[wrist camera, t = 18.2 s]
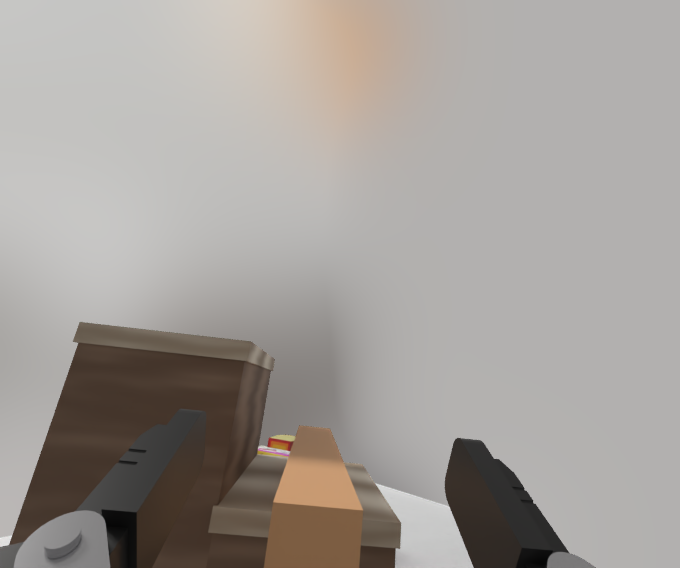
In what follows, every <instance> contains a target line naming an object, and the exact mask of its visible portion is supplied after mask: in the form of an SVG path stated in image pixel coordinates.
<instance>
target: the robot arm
mask: <svg viewBox="0 0 680 568" xmlns="http://www.w3.org/2000/svg"><path fill="white" fill-rule="evenodd" d="M205 435H206V412H205V411H199V410H189V409H179V410H178V411H177V412H176V414H175V415H174V416H173V417H172V419H171V420H170V421H169V423H168V424H167V425H161V424H157V425H155V426H154V427H152V428H151V429H149V430H148V431H146V432H144V433H143V434H141V435H140V436H139V437H138V439H137V440H136V441H135V442H134V443H133V444H132V446H131V447H130V448H129V450H128V451H126V453H125V454H124V455H123V456H122V457H121V458H120V460H119V462H118V463H116V464H115V465H114V467H113V468H112V469H111V470H110V471H109V472H108V474H107V475H106V476H105V477H104V478H103V479H102V481H101V482H100V483H99V484H98V485H97V486H96V488H95V489H94V490H93V491H92V492H91V493H90V495H89V496H88V497H87V498H86V499H85V500H84V502H83V503H82V504H81V505H80V506H79V507H78V509H77V510H76V511H75V512H70V513H67V514H64V515H62V516H59V517H57V518H55V519H53V520H51V521H49V522H47V523H46V524H44V525H43V526H41V527H40V528H39V529H37V530H36V531H35V532H34V533H32V534H31V535H30V536H29V537H28V538H27V539H26V541H25V542H21V543H17V544H13V545H8V546H3V547H0V568H152V567H153V565H154V563H155V561H156V559H157V557H158V555H159V553H160V551H161V549H162V547H163V545H164V543H165V541H166V539H167V537H168V535H169V533H170V531H171V529H172V527H173V525H174V523H175V521H176V519H177V517H178V515H179V514H180V512H181V510H182V508H183V506H184V504H185V502H186V500H187V498H188V496H189V494H190V492H191V490H192V488H193V486H194V484H195V482H196V480H197V478H198V476H199V474H200V471H201V468H202V464H203V460H204V454H205ZM445 493H446V498H447V501H448V504H449V506H450V509H451V511H452V514H453V516H454V519H455V521H456V524H457V526H458V529H459V531H460V534H461V536H462V539H463V542H464V544H465V547H466V549H467V552H468V554H469V557H470V559H471V562H472V564H473V567H474V568H596V567H594V566H592V565H591V564H590V563H588V562H587V561H585V560H584V559H582V558H580V557H578V556H575V555H573V554H570V553H569V552H568V550H567V549H566V547H565V546H564V545H563V543H562V542H561V540H560V539H559V538H558V536H557V535H556V533H555V532H554V530H553V529H552V527H551V526H550V524H549V523H548V522H547V520H546V519H545V517H544V516H543V515H542V513H541V511H540V510H539V509H538V507H537V506H536V504H534V503H533V500H532V498H531V497H530V495H529V494H528V492H527V491H525V490H524V487H523V485H522V484H521V482H520V481H519V479H518V478H517V477H516V475H515V474H514V472H512V471H511V470H510V469H509V468H508V467H507V466H506V465H505V464H503V463H502V462H501V461H500V460H499V459H494V458H493V457H492V455H491V454H490V452H489V451H488V449H487V448H486V446H485V445H484V443H483V442H482V441H480V440H471V439H461V438H457V439H456V440H455V441H454V444H453V448H452V452H451V456H450V460H449V465H448V469H447V473H446V477H445Z"/></svg>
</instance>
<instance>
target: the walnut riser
mask: <svg viewBox="0 0 680 568" xmlns="http://www.w3.org/2000/svg"><path fill="white" fill-rule="evenodd" d="M73 342H77V343H78V346H77V349H76V352H75V355H74V357H73V361H72V363H71V366H70V369H69V372H68V375H67V378H66V381H65V384H64V387H63V390H62V393H61V396H60V398H59V401H58V404H57V407H56V410H55V413H54V416H53V419H52V422H51V425H50V428H49V431H48V433H47V436H46V440H45V442H44V445H43V448H42V451H41V454H40V457H39V460H38V463H37V466H36V468H35V471H34V474H33V477H32V480H31V483H30V486H29V489H28V492H27V495H26V497H25V500H24V504H23V506H22V509H21V512H20V515H19V518H18V521H17V524H16V527H15V530H14V533H13V535H12V538H11V541H10V544H9V545H13V544H17V543H21V542H25V541H26V539H27V538H28V537H29V536H30V535H31V534H32V533H34V532H35V531H36V530H37V529H39V528H40V527H41V526H43V525H44V524H46V523H47V522H49V521H51V520H53V519H55V518H57V517H59V516H62V515H64V514H67V513H70V512H75V511H76V510H77V509H78V507H79V506H80V505H81V504H82V503H83V502H84V500H85V499H86V498H87V497H88V496H89V495H90V493H91V492H92V491H93V490H94V489H95V488H96V486H97V485H98V484H99V483H100V482H101V481H102V479H103V478H104V477H105V476H106V475H107V474H108V472H109V471H110V470H111V469H112V468H113V467H114V465H115V464H116V463H118V462H119V460H120V458H121V457H122V456H123V455H124V454H125V453H126V451H128V450H129V448H130V447H131V446H132V444H133V443H134V442H135V441H136V440H137V439H138V437H139V436H140V435H141V434H143V433H144V432H146V431H148V430H149V429H151V428H152V427H154V426H155V425H157V424H161V425H167V424H168V423H169V421H170V420H171V419H172V417H173V416H174V415H175V414H176V412H177V411H178V410H179V409H189V410H199V411H205V412H206V435H205V454H204V460H203V464H202V468H201V471H200V474H199V476H198V478H197V480H196V482H195V484H194V486H193V488H192V490H191V492H190V494H189V496H188V498H187V500H186V502H185V504H184V506H183V508H182V510H181V512H180V514H179V515H178V517H177V519H176V521H175V523H174V525H173V527H172V529H171V531H170V533H169V535H168V537H167V539H166V541H165V543H164V545H163V547H162V549H161V551H160V553H159V555H158V557H157V559H156V561H155V563H154V565H153V567H152V568H264V563H265V556H266V549H267V542H268V535H269V528H270V521H271V514H272V507H273V501H274V498H275V495H276V492H277V489H278V486H279V483H280V481H281V478H282V475H283V472H284V469H285V466H286V463H287V460H288V457H281V456H271V455H261V454H257V452H258V446H259V439H260V434H261V428H262V421H263V415H264V409H265V403H266V397H267V390H268V384H269V378H270V372H271V371H273V367H274V361H275V359H274V358H272V357H271V356H270V355H268V354H267V353H266V352H264V351H263V350H262V349H260V348H259V347H258V346H256V345H255V344H254V343H252V342H250V341H242V340H233V339H224V338H215V337H207V336H197V335H188V334H180V333H172V332H162V331H154V330H145V329H136V328H127V327H118V326H110V325H101V324H92V323H83V322H80V323H79V326H78V329H77V332H76V334H75V337H74V340H73ZM344 464H345V467H346V469H347V472H348V474H349V477H350V479H351V482H352V484H353V487H354V489H355V492H356V494H357V497H358V499H359V501H360V504H361V506H362V509H363V520H362V534H361V548H360V562H359V568H395V548H398V549H400V537H401V522H400V521H399V519H398V518H397V516H396V515H395V513H394V512H393V510H392V509H391V507H390V506H389V504H388V503H387V501H386V500H385V498H384V496H383V495H382V493H381V492H380V490H379V489H378V487H377V486H376V484H375V483H374V481H373V480H372V478H371V477H370V475H369V474H368V472H367V471H366V469H365V468H364V466H363V465H362V464H354V463H344Z"/></svg>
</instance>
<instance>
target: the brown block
mask: <svg viewBox="0 0 680 568" xmlns="http://www.w3.org/2000/svg"><path fill="white" fill-rule="evenodd" d="M362 520H363V509H362V506H361V504H360V501H359V499H358V497H357V494H356V492H355V489H354V487H353V484H352V482H351V479H350V477H349V474H348V472H347V469H346V467H345V464H344V462H343V460H342V457H341V454H340V452H339V450H338V447H337V445H336V442H335V440H334V437H333V435H332V432H331V430H330V429H329V428H319V427H309V426H299V428H298V431H297V434H296V437H295V439H294V442H293V445H292V448H291V451H290V454H289V457H288V460H287V463H286V466H285V469H284V472H283V475H282V478H281V481H280V483H279V486H278V489H277V492H276V495H275V498H274V501H273V507H272V514H271V521H270V528H269V535H268V542H267V549H266V556H265V563H264V568H359V562H360V548H361V534H362Z"/></svg>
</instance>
